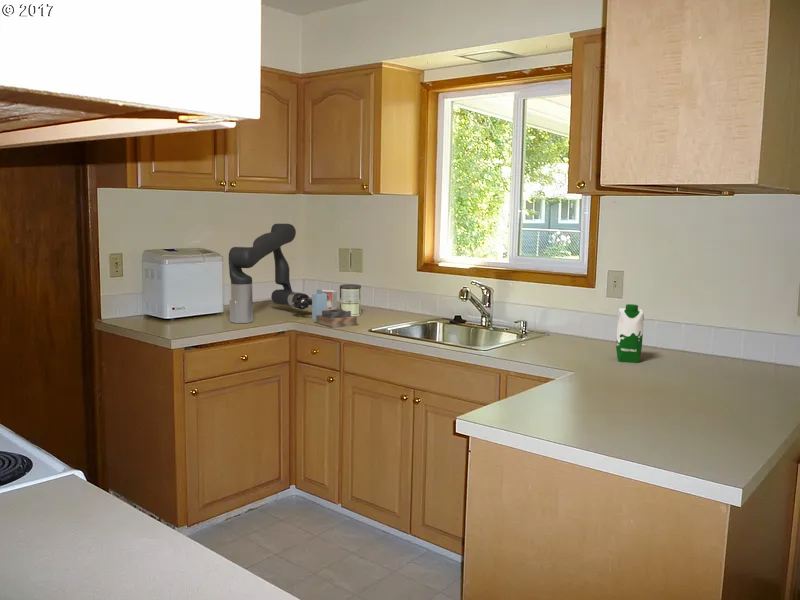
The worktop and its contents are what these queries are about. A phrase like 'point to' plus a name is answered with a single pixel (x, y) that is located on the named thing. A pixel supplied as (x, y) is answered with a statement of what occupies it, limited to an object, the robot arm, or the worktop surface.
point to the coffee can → (351, 298)
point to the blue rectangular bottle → (318, 303)
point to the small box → (331, 299)
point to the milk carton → (629, 333)
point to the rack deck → (336, 318)
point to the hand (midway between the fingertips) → (315, 304)
